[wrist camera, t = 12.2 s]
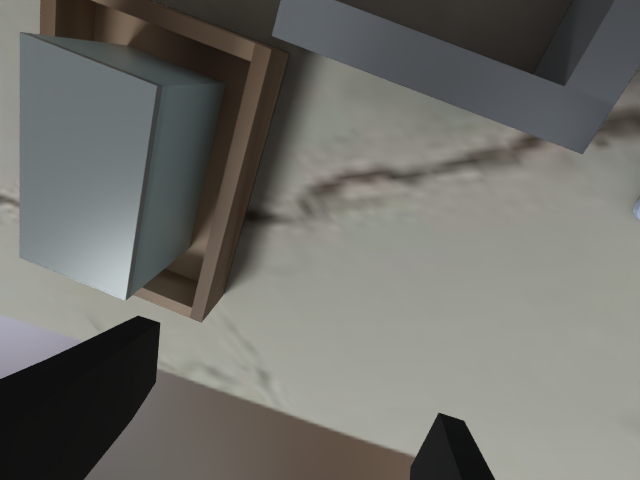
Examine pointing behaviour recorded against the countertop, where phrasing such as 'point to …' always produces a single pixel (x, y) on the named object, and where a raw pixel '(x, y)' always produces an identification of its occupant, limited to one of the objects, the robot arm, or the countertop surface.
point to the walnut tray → (230, 135)
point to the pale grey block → (110, 159)
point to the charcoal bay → (488, 64)
